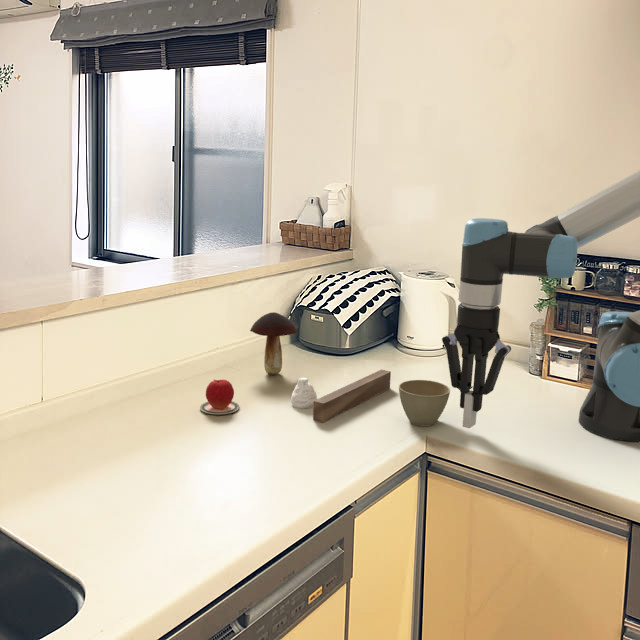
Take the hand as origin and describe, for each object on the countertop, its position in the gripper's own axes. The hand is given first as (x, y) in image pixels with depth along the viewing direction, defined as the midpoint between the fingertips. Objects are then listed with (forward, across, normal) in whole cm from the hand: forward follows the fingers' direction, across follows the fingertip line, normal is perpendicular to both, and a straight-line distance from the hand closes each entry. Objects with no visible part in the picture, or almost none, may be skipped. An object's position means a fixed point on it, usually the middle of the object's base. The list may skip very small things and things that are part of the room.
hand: (469, 425), depth 134 cm
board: (+2, +26, 0) cm, 26 cm away
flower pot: (+2, +10, 0) cm, 10 cm away
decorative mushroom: (+2, +52, -4) cm, 52 cm away
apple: (+2, +46, +20) cm, 50 cm away
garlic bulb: (+2, +34, +7) cm, 35 cm away
